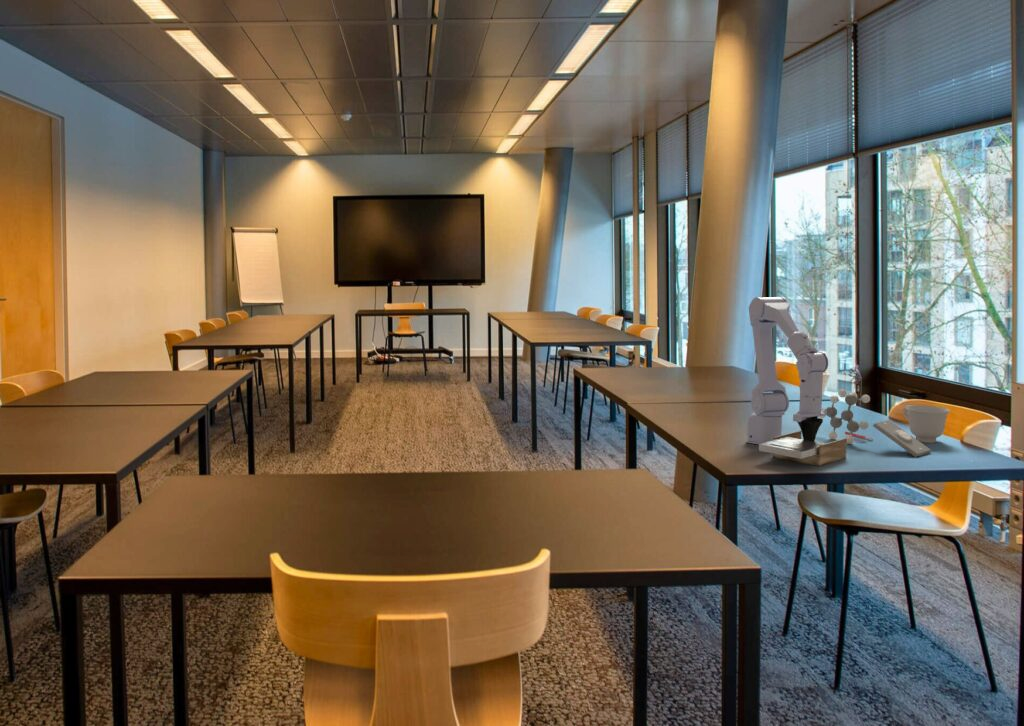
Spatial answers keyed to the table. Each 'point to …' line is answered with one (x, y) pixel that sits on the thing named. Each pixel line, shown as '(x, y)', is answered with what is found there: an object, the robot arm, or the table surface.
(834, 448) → the oak box
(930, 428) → the teacup
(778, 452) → the cover plate
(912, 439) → the light switch
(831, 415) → the molecule model
